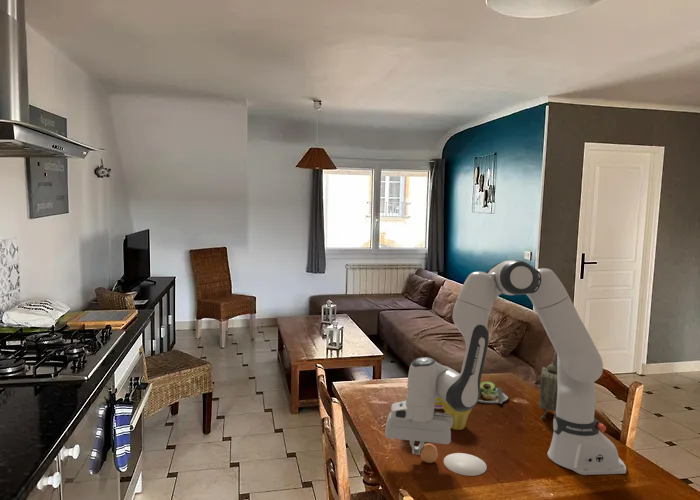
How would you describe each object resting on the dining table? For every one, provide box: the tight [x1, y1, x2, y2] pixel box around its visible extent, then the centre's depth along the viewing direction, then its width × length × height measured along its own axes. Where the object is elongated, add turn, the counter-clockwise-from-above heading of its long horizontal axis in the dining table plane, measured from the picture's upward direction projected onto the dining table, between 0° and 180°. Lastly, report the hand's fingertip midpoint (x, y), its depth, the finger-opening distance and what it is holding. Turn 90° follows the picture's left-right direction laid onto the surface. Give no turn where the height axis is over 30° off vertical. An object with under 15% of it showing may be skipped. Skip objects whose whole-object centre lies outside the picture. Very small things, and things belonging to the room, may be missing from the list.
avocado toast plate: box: [477, 380, 509, 405], centre depth 204 cm, size 19×18×5 cm
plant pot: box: [442, 400, 472, 431], centre depth 175 cm, size 10×10×10 cm
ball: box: [420, 442, 439, 464], centre depth 149 cm, size 6×6×6 cm
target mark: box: [443, 452, 488, 477], centre depth 148 cm, size 13×13×1 cm
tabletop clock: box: [538, 352, 558, 420], centre depth 186 cm, size 14×9×25 cm, turn 155°
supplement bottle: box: [434, 398, 444, 410], centre depth 192 cm, size 7×7×13 cm
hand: (416, 453), depth 149 cm, fingers closed
